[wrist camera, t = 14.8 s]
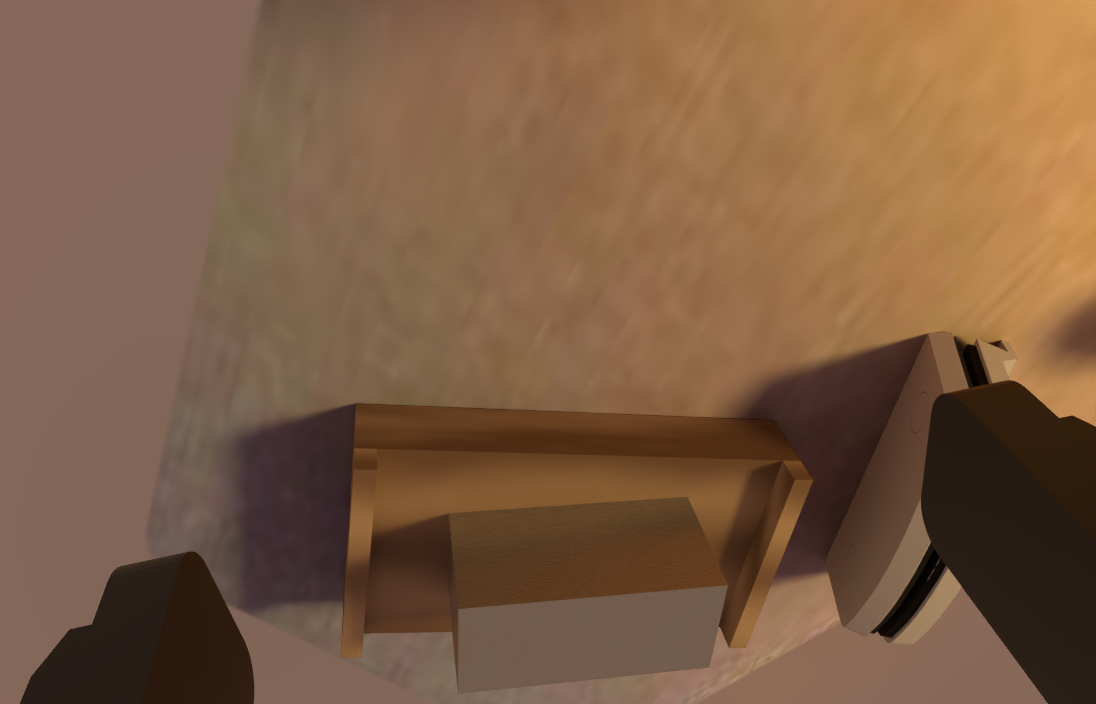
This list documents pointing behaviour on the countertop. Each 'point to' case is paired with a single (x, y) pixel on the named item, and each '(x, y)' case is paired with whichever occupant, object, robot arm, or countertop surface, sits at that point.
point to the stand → (553, 496)
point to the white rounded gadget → (905, 503)
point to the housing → (581, 593)
